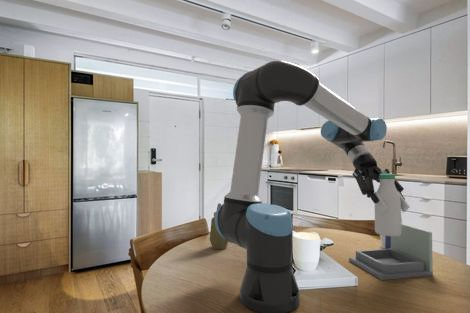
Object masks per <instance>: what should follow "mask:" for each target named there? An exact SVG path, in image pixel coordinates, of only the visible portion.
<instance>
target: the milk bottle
mask: <svg viewBox="0 0 470 313" xmlns="http://www.w3.org/2000/svg"><path fill="white" fill-rule="evenodd" d="M379 178H380V182H379V186H378V188H377V191H376V192H378V194H379V195H380V197H381V198H382V200H383V201H384V203H385V204H386V206H387V207H388V208H387V209H386V211H385V212H384V213H381V211H380V210H379V208H378V207H377V205H376V203H374V231H375V233H376V234H377V235H380V236H381V235H384V236H400V235H401V224H402V223H401V218H402V209H401V200H400V196H399V193H398V191H397V189H396V187H395V184H394V181H395V179H396V174H395V173H390V174H379Z"/></svg>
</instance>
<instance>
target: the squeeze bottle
mask: <svg viewBox="0 0 470 313" xmlns="http://www.w3.org/2000/svg"><path fill="white" fill-rule="evenodd" d="M221 205H222V203H217V207H216V210H215V211H214V212H213V217H212V218H211V219H210V229H209V230H210V233H209V241H210V245H211V247H212V249H213V250H224V249H227V247H228V244H229V242H228V241H227V240H226V239H224V238H223V237H222V236H221V235H220V234H219V233H218V231H217V229H216V226H215V215H216V212H217V210H218V208H220V207H221Z"/></svg>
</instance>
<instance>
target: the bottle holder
mask: <svg viewBox="0 0 470 313" xmlns="http://www.w3.org/2000/svg"><path fill="white" fill-rule="evenodd" d="M348 261H349V262H351V263H352V264H354V265H355V266H357V267H359V268H360V269H361V270H364V271H366V272H367V273H369V274H370V275H372V276H374V277H376V278H377V279H379V280H381V281H387V280H395V279H406V278H408V279H409V278H415V277H416V278H417V277H427V276H428V277H429V276H433V274H434V269H433V264H434V262H433V261H434V260H433V232H432V231H430V230H427V229H422V228H418V227H415V226H411V225H408V224H404V223H401V235H400V236H391V248H389V249H383V248H380V249H379V248H377V249H364V250H355V256H351V257H348Z"/></svg>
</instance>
